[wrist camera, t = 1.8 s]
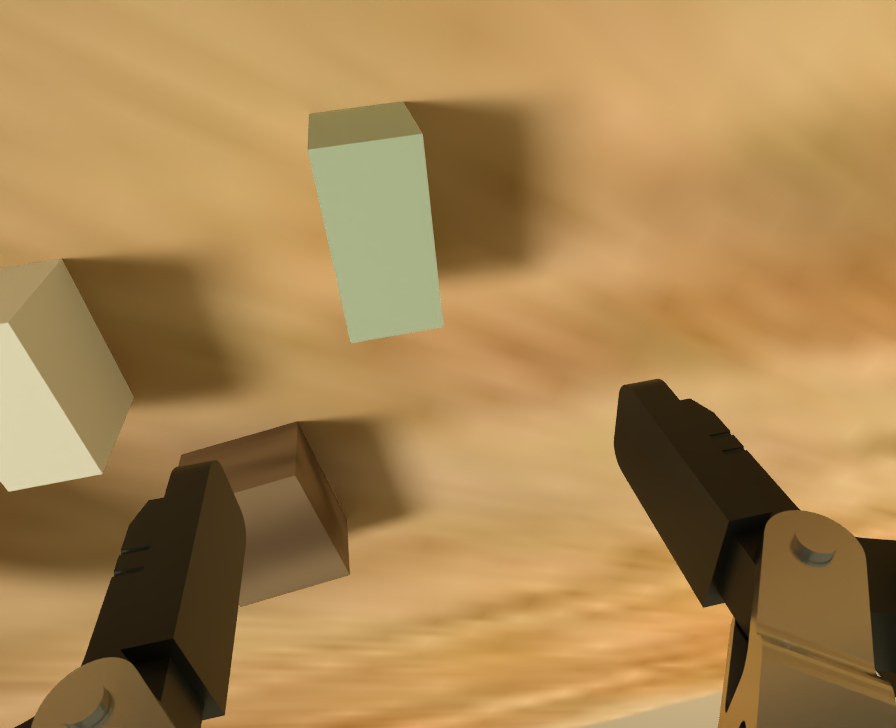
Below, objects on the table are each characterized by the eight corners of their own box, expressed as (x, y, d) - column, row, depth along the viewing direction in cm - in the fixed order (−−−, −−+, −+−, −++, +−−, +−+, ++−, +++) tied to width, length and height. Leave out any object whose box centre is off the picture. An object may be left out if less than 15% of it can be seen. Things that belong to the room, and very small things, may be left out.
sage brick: (309, 113, 21) (307, 149, 17) (402, 101, 22) (422, 133, 18) (345, 282, 25) (350, 343, 21) (423, 269, 26) (443, 327, 22)
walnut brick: (182, 451, 29) (165, 512, 26) (297, 418, 29) (295, 475, 26) (247, 545, 34) (240, 607, 31) (346, 516, 34) (349, 574, 31)
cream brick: (-33, 272, 22) (-110, 341, 18) (62, 257, 23) (7, 322, 19) (55, 410, 26) (8, 491, 22) (134, 396, 27) (102, 473, 23)
